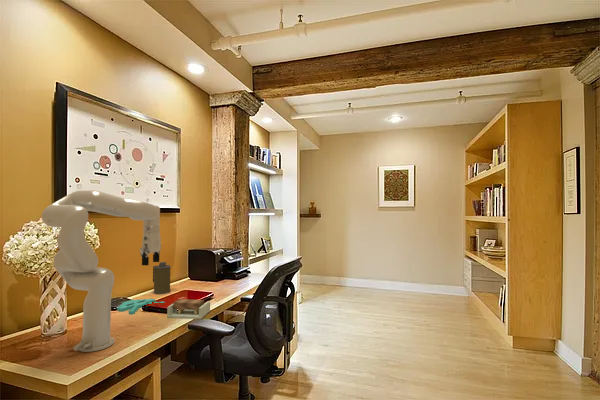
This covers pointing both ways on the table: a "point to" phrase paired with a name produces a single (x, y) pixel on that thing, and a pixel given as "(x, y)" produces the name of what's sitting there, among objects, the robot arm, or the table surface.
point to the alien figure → (135, 305)
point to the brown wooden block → (188, 304)
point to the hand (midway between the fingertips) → (150, 263)
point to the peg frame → (188, 312)
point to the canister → (161, 278)
